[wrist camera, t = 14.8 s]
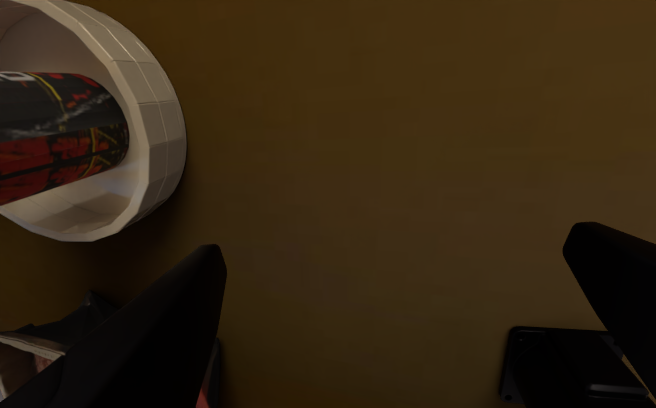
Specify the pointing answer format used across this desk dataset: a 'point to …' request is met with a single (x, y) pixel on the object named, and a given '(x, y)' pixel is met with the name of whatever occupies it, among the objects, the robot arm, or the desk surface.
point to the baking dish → (57, 337)
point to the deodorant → (56, 131)
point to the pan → (130, 93)
